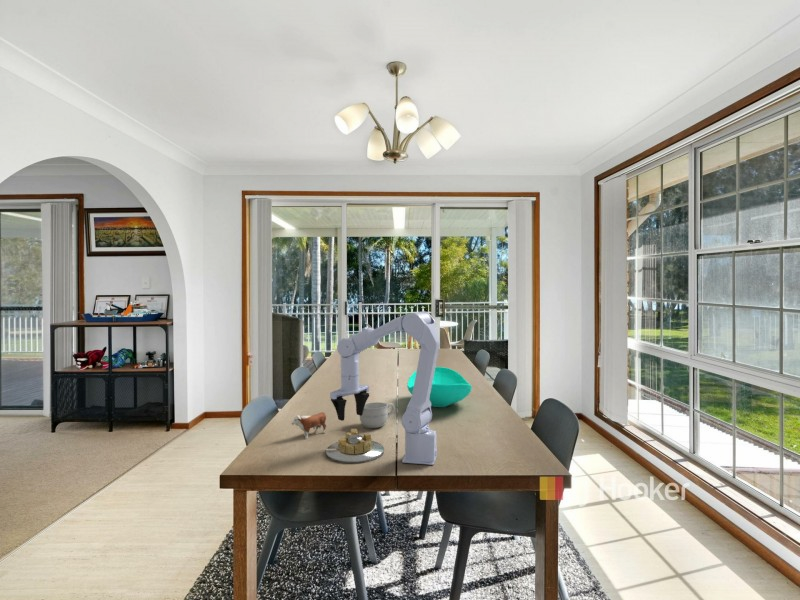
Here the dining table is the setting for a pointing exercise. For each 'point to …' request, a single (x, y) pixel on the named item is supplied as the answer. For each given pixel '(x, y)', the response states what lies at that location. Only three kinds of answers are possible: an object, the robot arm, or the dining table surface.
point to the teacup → (375, 414)
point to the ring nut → (358, 448)
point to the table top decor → (445, 387)
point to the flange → (342, 457)
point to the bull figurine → (310, 422)
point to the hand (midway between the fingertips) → (350, 417)
